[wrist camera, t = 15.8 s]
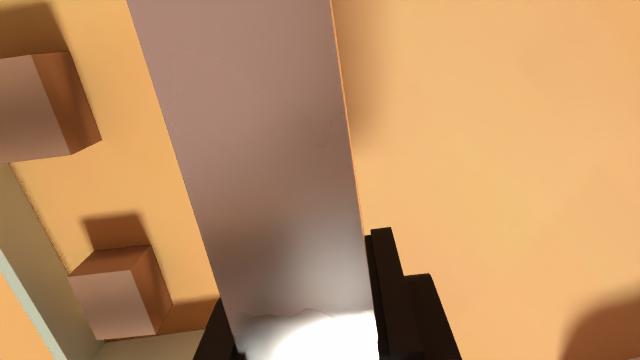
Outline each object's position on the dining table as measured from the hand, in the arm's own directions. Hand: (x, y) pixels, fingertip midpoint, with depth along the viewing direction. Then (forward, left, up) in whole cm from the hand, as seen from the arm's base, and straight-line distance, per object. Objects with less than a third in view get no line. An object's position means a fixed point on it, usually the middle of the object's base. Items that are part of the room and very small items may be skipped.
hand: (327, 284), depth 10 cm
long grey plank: (0, 0, -1) cm, 1 cm away
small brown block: (+7, -15, -13) cm, 21 cm away
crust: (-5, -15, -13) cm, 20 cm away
